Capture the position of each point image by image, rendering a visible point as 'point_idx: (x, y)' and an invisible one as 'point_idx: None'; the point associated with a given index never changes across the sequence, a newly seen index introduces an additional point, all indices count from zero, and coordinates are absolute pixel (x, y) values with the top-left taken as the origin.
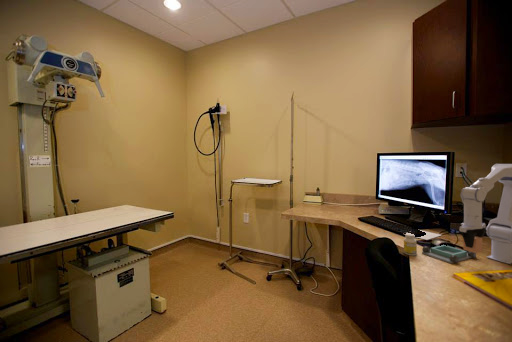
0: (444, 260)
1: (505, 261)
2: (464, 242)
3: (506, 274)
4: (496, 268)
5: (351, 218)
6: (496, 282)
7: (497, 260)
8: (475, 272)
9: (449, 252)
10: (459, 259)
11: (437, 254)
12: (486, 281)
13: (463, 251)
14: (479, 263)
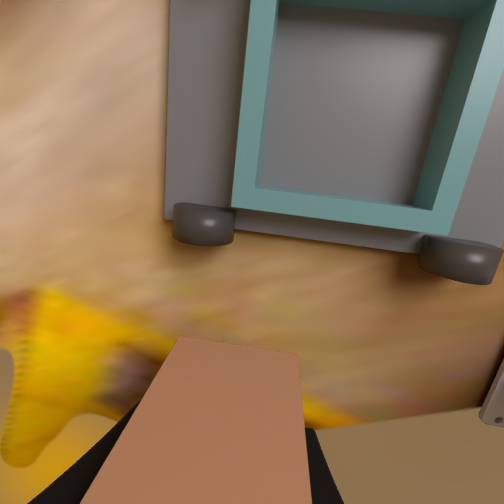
0: (168, 168)
1: (499, 406)
2: (135, 417)
3: None
4: (331, 390)
5: None
6: None
7: (499, 368)
8: (163, 346)
9: (395, 100)
10: (272, 230)
11: (240, 63)
12: (99, 402)
13: (418, 218)
14: (343, 315)
